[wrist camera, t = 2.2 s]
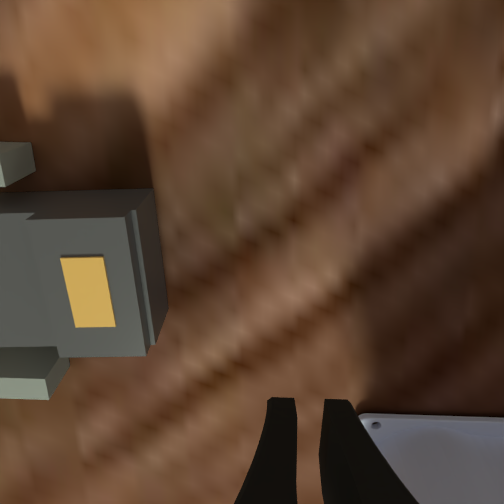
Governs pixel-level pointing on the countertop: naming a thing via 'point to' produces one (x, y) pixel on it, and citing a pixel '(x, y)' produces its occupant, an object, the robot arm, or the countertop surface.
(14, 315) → the dark grey square block
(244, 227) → the countertop surface
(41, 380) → the deck mount
